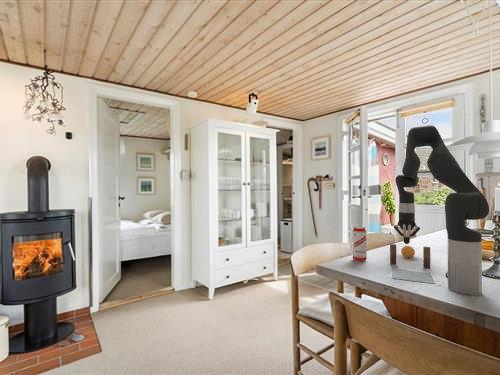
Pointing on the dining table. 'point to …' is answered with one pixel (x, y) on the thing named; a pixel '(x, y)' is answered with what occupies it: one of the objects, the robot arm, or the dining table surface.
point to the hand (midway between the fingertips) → (406, 243)
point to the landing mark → (412, 276)
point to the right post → (426, 257)
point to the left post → (393, 254)
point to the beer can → (359, 244)
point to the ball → (408, 251)
